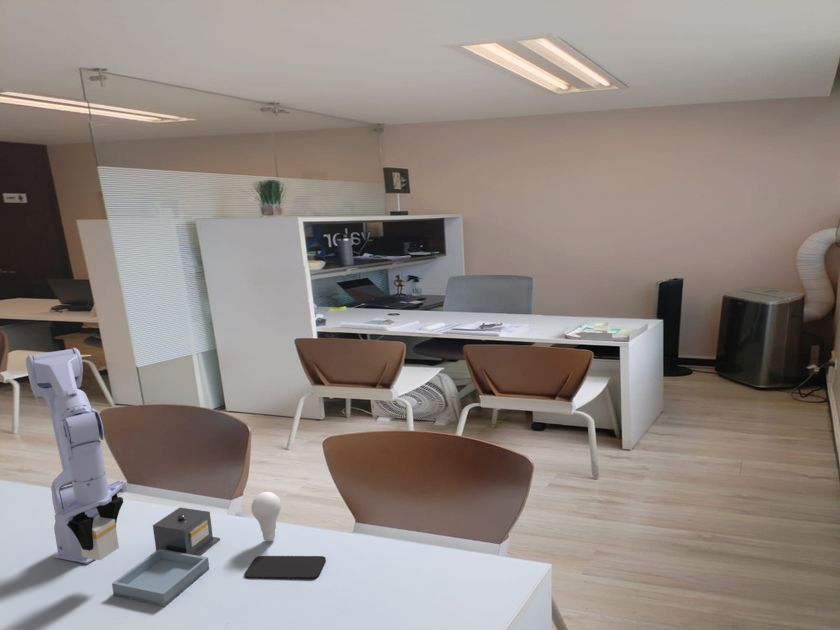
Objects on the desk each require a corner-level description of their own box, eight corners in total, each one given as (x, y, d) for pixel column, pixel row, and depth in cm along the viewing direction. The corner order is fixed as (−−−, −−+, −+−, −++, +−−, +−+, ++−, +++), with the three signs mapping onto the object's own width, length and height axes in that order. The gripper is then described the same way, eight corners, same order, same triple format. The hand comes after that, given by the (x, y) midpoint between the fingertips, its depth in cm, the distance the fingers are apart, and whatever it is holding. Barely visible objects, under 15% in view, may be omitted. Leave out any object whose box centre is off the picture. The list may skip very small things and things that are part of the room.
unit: (149, 558, 127) (144, 524, 126) (183, 533, 137) (179, 502, 135) (188, 565, 124) (184, 530, 123) (220, 540, 133) (216, 507, 132)
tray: (113, 595, 115) (111, 583, 115) (160, 560, 126) (159, 548, 126) (165, 606, 111) (163, 594, 111) (209, 568, 122) (208, 557, 122)
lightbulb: (276, 549, 128) (272, 500, 126) (250, 547, 129) (244, 499, 128) (288, 534, 134) (284, 487, 132) (263, 532, 135) (258, 486, 133)
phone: (256, 555, 126) (327, 555, 124) (256, 559, 126) (327, 559, 124) (241, 576, 118) (317, 577, 117) (242, 580, 119) (317, 581, 117)
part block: (81, 557, 117) (77, 528, 116) (101, 544, 121) (97, 516, 120) (99, 560, 115) (95, 531, 114) (119, 547, 120) (115, 519, 119)
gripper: (71, 495, 107) (82, 565, 110) (134, 462, 121) (143, 525, 123) (42, 490, 110) (53, 560, 112) (107, 459, 123) (116, 521, 126)
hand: (98, 541), depth 118 cm, fingers closed on part block, 4 cm apart
